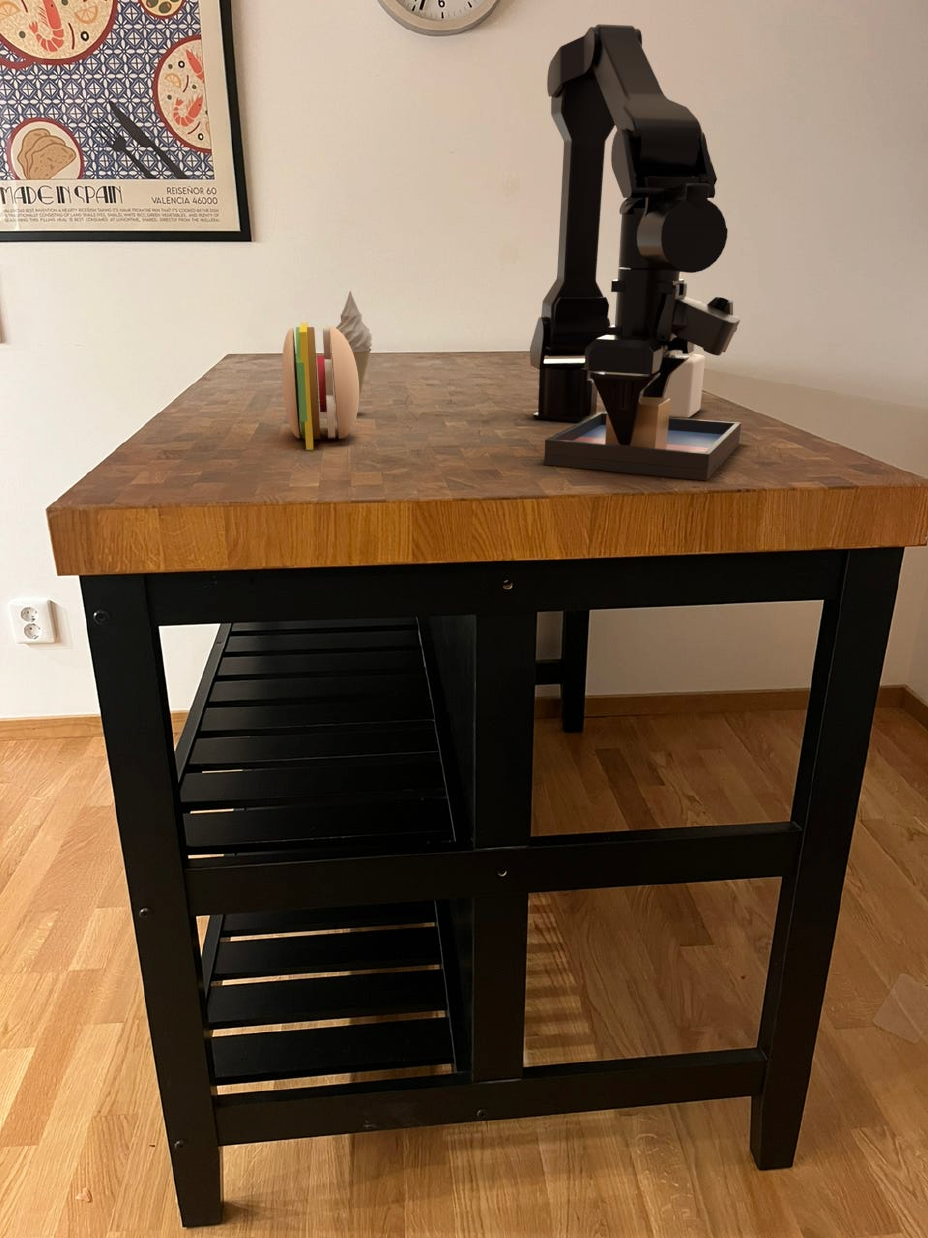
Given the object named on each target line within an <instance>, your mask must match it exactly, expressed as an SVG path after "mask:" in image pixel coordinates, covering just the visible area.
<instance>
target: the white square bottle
mask: <svg viewBox="0 0 928 1238" xmlns="http://www.w3.org/2000/svg"><path fill="white" fill-rule="evenodd" d="M697 350H698V346H697V345H695V344H694V351H693V352H691V353H689V354H683V353H682V351H680V350H676V355H681V356H689V359H688V360H687V361H686V362H684V363H683V364H682V365H681V366H680V367H679V368H677V369H676V370H675V371H674V372H673V373H672V375H671V377H670V380H669V383H668V386H667V388H666V392H665V394H664V398H669V399H671V400H670V411H669V417H671V418H684V419H690V417H692V416H693V415H695V414H696V413H697V412H699V411H700V410H701V405H702V395H703V386H704V385H703V383H704V374H705V363H706V356H705V355H704V354H700V353H695V351H697Z"/></svg>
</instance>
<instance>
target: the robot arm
mask: <svg viewBox="0 0 928 1238" xmlns="http://www.w3.org/2000/svg"><path fill="white" fill-rule="evenodd" d="M546 87H547V88H546V89H547V90H546V91H547V95H548V97H549V98H550V104H551V105H550V115H551V118H552V120H553V122H554V124H555V127H556V128H557V130H558V132H559V135H560V136H561V139H562V140H563V155H562V173H561V175H562V177H561V192H560V211H559V212H560V214H559V230H558V231H559V233H558V251H557V268H556V269H557V270H556V273H557V274H556V279H555V280H554V282H553V284H552V285H551V287H550V288H549V290H548V292H547V293H546V295H545V296H544V298H543V300H542V303H541V304H542V305H541V315H540V316H539V317H538V318H537V322H536V325H535V329H534V333H533V335H532V339H531V342H530V346H529V361H530V366H531V367H533V368H535V369H537V370H538V372H539V374H538V375H539V376H538V400H537V401H538V402H537V411H536V412H535V413H532V418H533V419H543V420H553V421H554V420H556V421H569V422H581V421H583V420H585V419H587V418H589V417H590V416H592V415H594V414H596V413H597V409H598V408H597V406H598V395H599V397H600V399H601V402H602V404H603V406H604V409H605V411H606V413H607V414H608V417H609V419H610V422H611V425H612V427H613V430H614V432H615V435H616V438H617V440H618V443H619V444H620V445H627V446H628V445H630V444H631V442H632V438H633V434H634V430H635V426H636V422H637V417H638V413H639V408H640V404H641V399H642V397H654V398H664V394H665V392H666V388H667V386H668V383H669V380H670V377H671V375H672V373H673V372H674V371H675V370H676V369H677V368H679V367H680V366H681V365H682V364H683V363H684V362H686V361H687V360H688V359H689V356H681V355H676V350H680V351H682V353H683V354H689V353H691V352H693V351H694V344H695V345H697V347H699V348H701V349H702V350H703V351H704V352H706V353H708V354H710V355H712V356H713V355H714V356H718V357H719V356H721V355H722V354H723V353H726V351H727V349H728V347H729V345H730V343H731V341H732V339H733V337H734V335H735V333H736V332H737V331H738V327H739V324H740V322H741V319H740V317H739V316H737V315H734V301H733V300H731V299H729V298H727V297H724V296H722V295H718V296H715V297H714V298H713V299H712V300H710V301H709V302H708V303H707V304H706V303H705V302H704V301H703V300H696V299H693V298H691V297H688V296H687V292H688V283H687V282H685V279H684V278H681V273H687V274H694V273H699V272H703V271H704V270H707V269H708V268H710V267H711V266H712V265H714V264H715V262H717V261H718V260H719V258H720V257H721V255H722V254H723V251H724V250H725V247H726V245H727V244H726V243H727V240H728V231H729V230H728V227H727V224H726V223H727V222H726V219H725V217H724V215H723V212H722V211H721V209H720V208H719V207H718V206H717V205H716V204H715V203H713V202H712V201H711V199H714V198H715V196H716V184H717V181H718V177H717V174H716V170H715V167H714V165H713V162H712V157H711V155H710V152H709V149H708V143H707V138H706V134H705V133H704V132H703V128H702V125H701V123H700V121H699V119H698V118H697V117H696V116H695V115H694V114H693V113H692V111H691V110H690V109H689V108H688V106H685V105H682V104H681V103H679V102H676V101H673V100H671V99H669V98H668V97H667V96H666V95H665V93H664V90H663V88H662V87H661V85H660V82H659V80H658V78H657V76H656V74H655V72H654V69H653V67H652V66H651V63H650V61H649V59H648V57H647V55H646V53H645V51H644V49H643V33H642V31H641V29H640V28H635V26H633V25H628V24H627V25H626V24H625V25H623V24H603V23H602V24H601V23H600V24H599V23H598V24H596V25H595V26H590V27H588V29H587V31H586V32H585V33H584V35H582V36H580V37H578V38H576V39H573V40H572V41H570V42H568V43H565V44H563V45H561V46H559V47H558V49H557V51H556V52H555V54H554V55H553V57H552V59H551V60H550V62H549V65H548V70H547V78H546ZM614 128H616V131H615V133H614V137H613V139H612V144H611V151H610V162H611V169H612V172H613V176H614V177H615V180H616V183H617V185H618V188H619V191H620V193H621V196H622V198H623V199H625V200H623V201H622V203H621V204H620V207H619V209H618V211H619V215H620V216H621V217H620V218H621V219H620V232H619V233H620V236H619V251H618V268H617V279H613V280H611V282H610V283H611V286H610V292H611V293H616V300H615V316H614V324H613V325H611V321H610V318H609V312H610V303H609V301H608V298H607V296H604V294H603V292H602V291H601V288H600V286H599V284H598V283H597V272H598V271H597V269H598V255H599V243H600V242H599V240H600V227H601V226H600V225H601V211H602V196H603V183H604V181H603V180H604V168H605V167H604V166H605V153H606V143H607V139H608V138H609V136H610V134H612V131H613V130H614ZM694 352H695V351H694ZM546 357H548V358H546ZM549 357H551V358H549ZM552 357H584V358H552Z"/></svg>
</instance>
